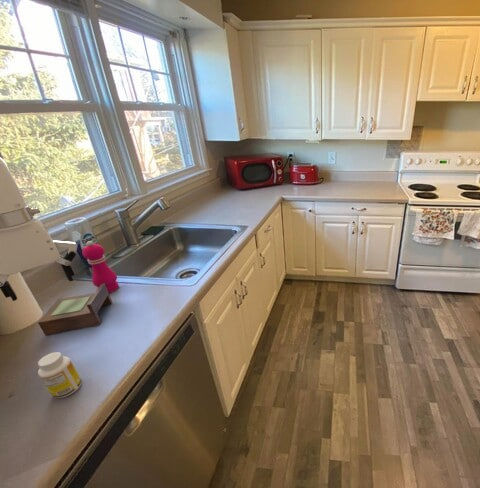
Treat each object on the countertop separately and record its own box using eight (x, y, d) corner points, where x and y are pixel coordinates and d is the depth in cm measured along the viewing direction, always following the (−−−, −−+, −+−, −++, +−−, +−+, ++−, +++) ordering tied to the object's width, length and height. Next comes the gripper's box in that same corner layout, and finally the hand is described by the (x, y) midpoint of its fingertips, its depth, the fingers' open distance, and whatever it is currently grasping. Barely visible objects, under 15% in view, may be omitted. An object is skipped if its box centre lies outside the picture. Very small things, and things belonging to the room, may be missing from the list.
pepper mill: (109, 295, 102) (88, 246, 93) (92, 293, 103) (70, 245, 94) (125, 284, 108) (107, 237, 99) (109, 282, 109) (89, 236, 101)
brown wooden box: (45, 335, 84) (32, 314, 80) (64, 311, 94) (54, 291, 91) (100, 324, 88) (90, 304, 84) (112, 302, 98) (104, 283, 95)
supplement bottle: (71, 376, 71) (54, 346, 66) (88, 381, 69) (71, 351, 65) (46, 396, 66) (26, 365, 61) (64, 402, 64) (44, 371, 60)
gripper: (57, 204, 65) (85, 268, 73) (-61, 227, 53) (-13, 299, 61) (64, 211, 61) (93, 277, 68) (-63, 237, 49) (-10, 314, 56)
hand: (43, 288), depth 64 cm, fingers open, 9 cm apart
